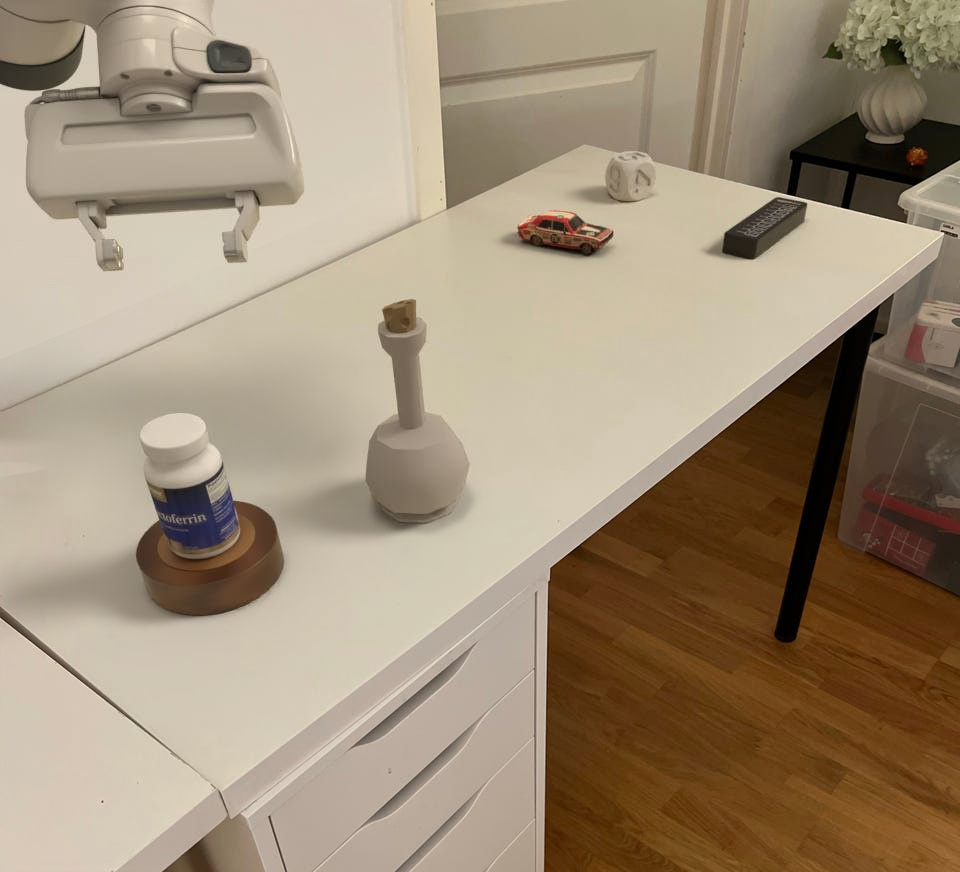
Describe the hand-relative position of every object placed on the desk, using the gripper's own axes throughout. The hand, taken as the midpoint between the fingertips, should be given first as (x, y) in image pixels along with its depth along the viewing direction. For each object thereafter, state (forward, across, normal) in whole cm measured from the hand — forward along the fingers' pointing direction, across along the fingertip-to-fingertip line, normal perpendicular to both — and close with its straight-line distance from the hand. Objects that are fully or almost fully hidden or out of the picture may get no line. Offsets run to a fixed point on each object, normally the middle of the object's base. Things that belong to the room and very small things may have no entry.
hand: (173, 264), depth 73 cm
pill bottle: (+21, 0, +4) cm, 21 cm away
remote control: (-19, +61, +47) cm, 80 cm away
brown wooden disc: (+23, 0, +6) cm, 23 cm away
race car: (-20, +36, +49) cm, 64 cm away
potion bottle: (+17, +17, +11) cm, 27 cm away
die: (-32, +47, +60) cm, 83 cm away
